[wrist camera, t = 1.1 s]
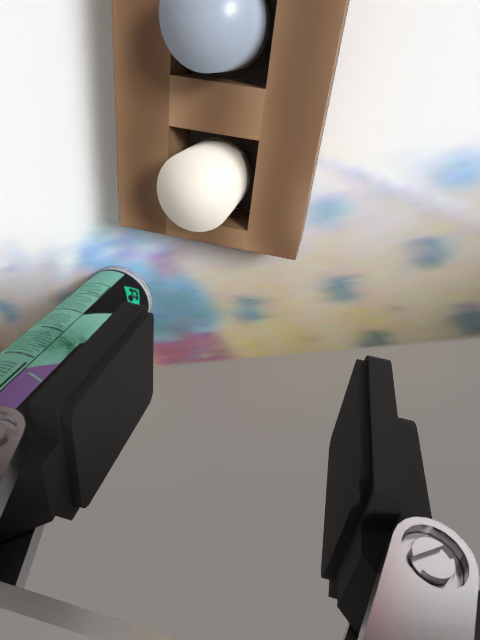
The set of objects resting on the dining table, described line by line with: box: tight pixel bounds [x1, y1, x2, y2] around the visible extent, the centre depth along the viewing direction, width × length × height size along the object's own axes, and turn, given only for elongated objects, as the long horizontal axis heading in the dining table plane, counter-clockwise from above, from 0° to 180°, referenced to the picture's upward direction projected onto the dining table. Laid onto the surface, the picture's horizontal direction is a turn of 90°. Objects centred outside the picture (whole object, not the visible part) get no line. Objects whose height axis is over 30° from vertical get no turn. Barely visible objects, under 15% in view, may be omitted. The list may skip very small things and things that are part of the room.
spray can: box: [0, 266, 152, 409], centre depth 29 cm, size 6×6×20 cm
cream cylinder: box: [157, 137, 251, 232], centre depth 26 cm, size 4×4×5 cm
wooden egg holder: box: [112, 0, 349, 260], centre depth 24 cm, size 12×24×4 cm, turn 173°
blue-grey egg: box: [159, 0, 270, 73], centre depth 22 cm, size 4×4×5 cm
